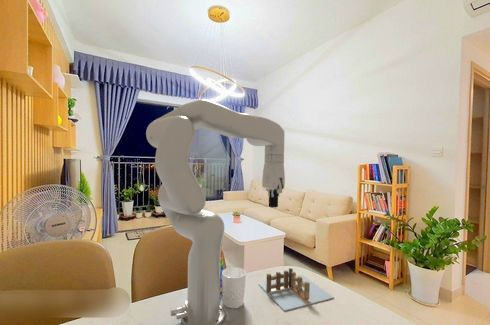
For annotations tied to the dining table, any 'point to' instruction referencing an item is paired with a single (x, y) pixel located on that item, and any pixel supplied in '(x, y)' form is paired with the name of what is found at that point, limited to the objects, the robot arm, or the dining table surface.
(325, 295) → the card
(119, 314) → the dining table surface
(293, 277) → the fence fold
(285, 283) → the fence fixed
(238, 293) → the white cup
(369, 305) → the dining table surface
